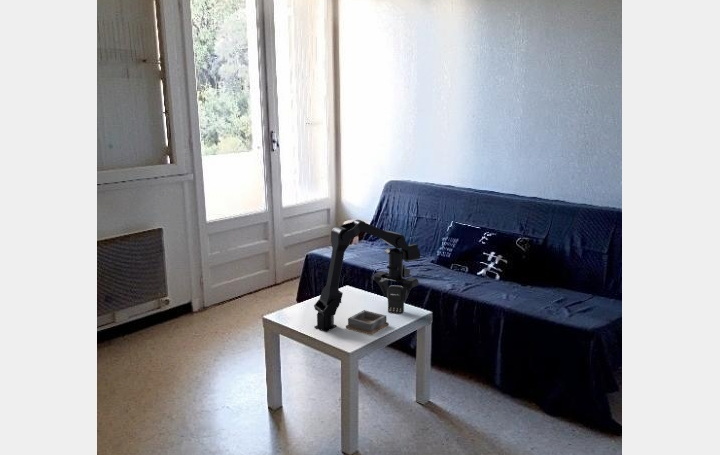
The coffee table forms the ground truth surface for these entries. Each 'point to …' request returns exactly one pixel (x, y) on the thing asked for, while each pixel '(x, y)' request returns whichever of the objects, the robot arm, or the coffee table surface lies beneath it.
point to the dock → (367, 322)
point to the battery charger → (395, 299)
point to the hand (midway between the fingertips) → (395, 299)
